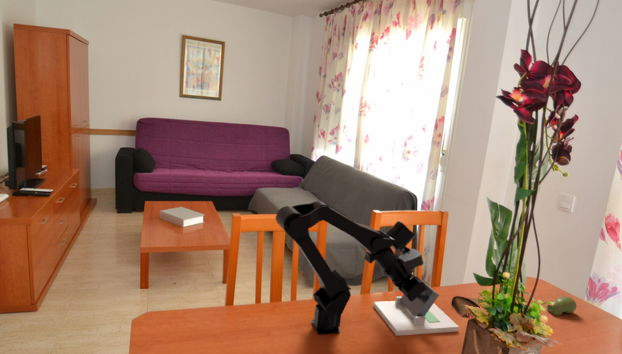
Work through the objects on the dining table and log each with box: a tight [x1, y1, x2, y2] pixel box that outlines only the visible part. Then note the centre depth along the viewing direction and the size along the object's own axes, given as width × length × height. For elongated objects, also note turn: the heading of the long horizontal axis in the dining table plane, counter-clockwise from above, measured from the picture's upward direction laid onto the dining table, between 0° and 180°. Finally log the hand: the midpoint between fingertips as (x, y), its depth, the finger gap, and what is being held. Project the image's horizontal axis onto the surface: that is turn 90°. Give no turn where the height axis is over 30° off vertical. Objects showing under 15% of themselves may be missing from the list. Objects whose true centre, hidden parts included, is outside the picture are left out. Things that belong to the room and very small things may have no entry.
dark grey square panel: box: [400, 275, 440, 318], centre depth 124 cm, size 2×10×10 cm, turn 16°
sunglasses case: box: [451, 295, 480, 318], centre depth 134 cm, size 18×7×7 cm, turn 90°
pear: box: [546, 295, 577, 316], centre depth 139 cm, size 6×5×10 cm
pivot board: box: [372, 295, 460, 337], centre depth 125 cm, size 20×16×4 cm
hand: (416, 294), depth 124 cm, fingers closed, pressing on dark grey square panel
